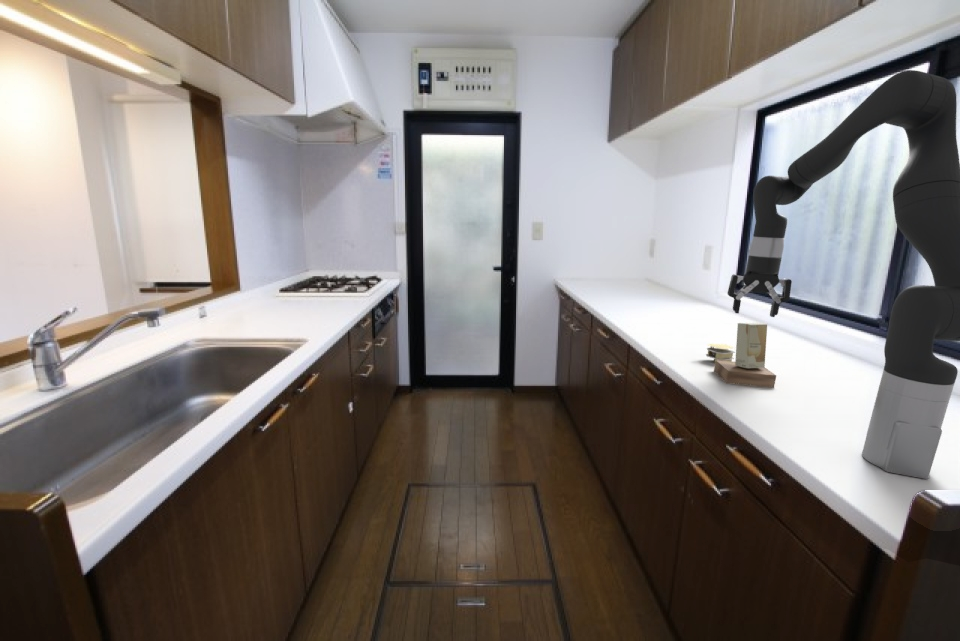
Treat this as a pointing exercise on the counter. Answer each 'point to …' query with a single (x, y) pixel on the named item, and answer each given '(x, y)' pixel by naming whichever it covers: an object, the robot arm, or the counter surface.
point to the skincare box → (751, 345)
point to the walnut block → (744, 374)
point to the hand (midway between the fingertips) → (754, 314)
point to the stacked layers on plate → (720, 352)
